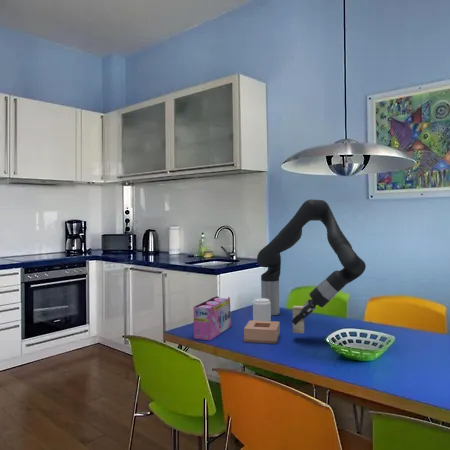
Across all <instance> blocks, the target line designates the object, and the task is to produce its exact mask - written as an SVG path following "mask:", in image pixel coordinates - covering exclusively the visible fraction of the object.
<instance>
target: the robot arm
mask: <svg viewBox="0 0 450 450" xmlns="http://www.w3.org/2000/svg"><path fill="white" fill-rule="evenodd" d="M332 211H333V210H331V207H330V205H329V203H327V202H326V200H322V199H313V198H312V199H307V200H305V201H304V202H303V203H302V204H301V205H300V207H299V208H298V210H297V211H296V212H295V214H294V215H293V216H292V218H291V219H290V220H289V221H288V222H287V224H286V225H284V226H283V228H282V229H281V230H280V231H279V232H278V233H277V234H276V235H275V236H274V238H272V240H271V241H270V242H268V243H267V244H266V245H265V246H264V247H262V249H260V250H259V252H258V254H257V256H256V262H257V265H259V267H261V268H267V270H266V271H265V272H263V273H262V274H261V275H260V287H261V288H260V289H261V290H260V291H261V292H260V293H261V294H260V295H261V296H260V298H266V299H269V301H270V303H271V316H277V315H280V276H281V268H282V267H281V266H282V258H281V253H283V252H285V251H287V250H289V249H291V248H292V247H293V246H294V245H296V243H298V242H299V241H300V240H301V237H302V236H303V227H304V226H305V225H306V224H307V223H309V222H311V221H313V222H314V221H320V222H321V223H322V224H323V225H324V227H325V228H326V238H327V239H326V240H327V241H328V244H329V246H330V247H331V249H332V250H333V252H334V253H335V255H336V256H337V258H338V261H339V263H340V264H341V266H342V267H343V268H341V270H334V271H333V272H332V273H330V275H328V276H327V277H326V278H325V279H324V280H322V281H321V282H320V283H319V284H318V285H317V286H315V288H314V289H312V290H311V292H309V296H310V298H309V299H308V300H307V301H306V302H305V303H304V304H303V305H302V306H304V307H303V308H302V309H301V310H302V311H301V312H300V313H298V315H297V316H296V317H295V318H294V319H293V318H292V320H291V322H292V324H293V323H294V324H295V325H296V324H297V323H298V322H299V321H300V320H301V319H304V320H305V319H306V317H308V316H309V315H310V314H312V313H313V312H314V311H315V310H316V306H318V307H320V308H324V307H325V306H326V305H327V304H328V303H330V301H331V300H333V299H334V298H335V297H336V296H337V294H338V293H339V292H341V290H342V289H344V287H346V285H348V284H350V283H351V282H353V281H355V280H357V279H358V278H359V277H361V276H362V275H363V273H364V272H365V270H366V267H367V266H366V262H365V261H364V260H363V259H362V258H361V257H360V256H359V255H358V254H357V253H356V252H355V250H354V248H353V246H352V244H351V243H350V242H349V240H348V238H347V237H346V236H345V234H344V233H343V231H342V230H341V228H340V226H339V224H338V222H337V220H336V218H335V215H334V213H333V212H332ZM302 313H304V315H303V314H302Z"/></svg>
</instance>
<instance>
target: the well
mask: <svg viewBox="0 0 450 450" xmlns="http://www.w3.org/2000/svg"><path fill="white" fill-rule="evenodd" d="M280 323H281V322H280V321H277V320H276V321H274V320H273V321H272V320H271V321H254V320H253V319H252V320H249V321H248V322H247V324H246V325H245V326H244V328H243V340H244V341H243V342H244V343H256V344H271V345H272V344H274V345H276V344H278V342H279V341H278V340H279V338H280V335H281V334H280V333H281V331H280V330H281V327H280V326H281V325H280Z"/></svg>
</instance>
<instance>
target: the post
mask: <svg viewBox="0 0 450 450" xmlns="http://www.w3.org/2000/svg"><path fill="white" fill-rule="evenodd" d="M303 307H304V306H303V305H293V306H292V320H293V319H294V318H295V317H296V316H297V315H298V313H300V312H301V311H302V310H301V309H302V308H303ZM302 314H303V315H305V314H304V313H302ZM292 333H293V334H294V333H295V334H305V319H301V320H300V321H299V322H298V323H297V324H296V325H295V324H294V323H293V322H292Z"/></svg>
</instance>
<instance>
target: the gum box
mask: <svg viewBox="0 0 450 450" xmlns="http://www.w3.org/2000/svg"><path fill="white" fill-rule="evenodd" d="M231 311H232V310H231V297H229V296H228V297H227V298H226V297H220V296H218V295H217V296H214V297H211V298H209V299H207V300H205V301H203V302H201V303H199V304H197V305H194V306H193V339H196V340H205V341H211V340H213V339H214V338H216V337H218V336H219V335H221V334H222V333H224V332H225V331H226V330H228V329H229V328H230V327H232V317H231V316H232V312H231Z"/></svg>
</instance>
